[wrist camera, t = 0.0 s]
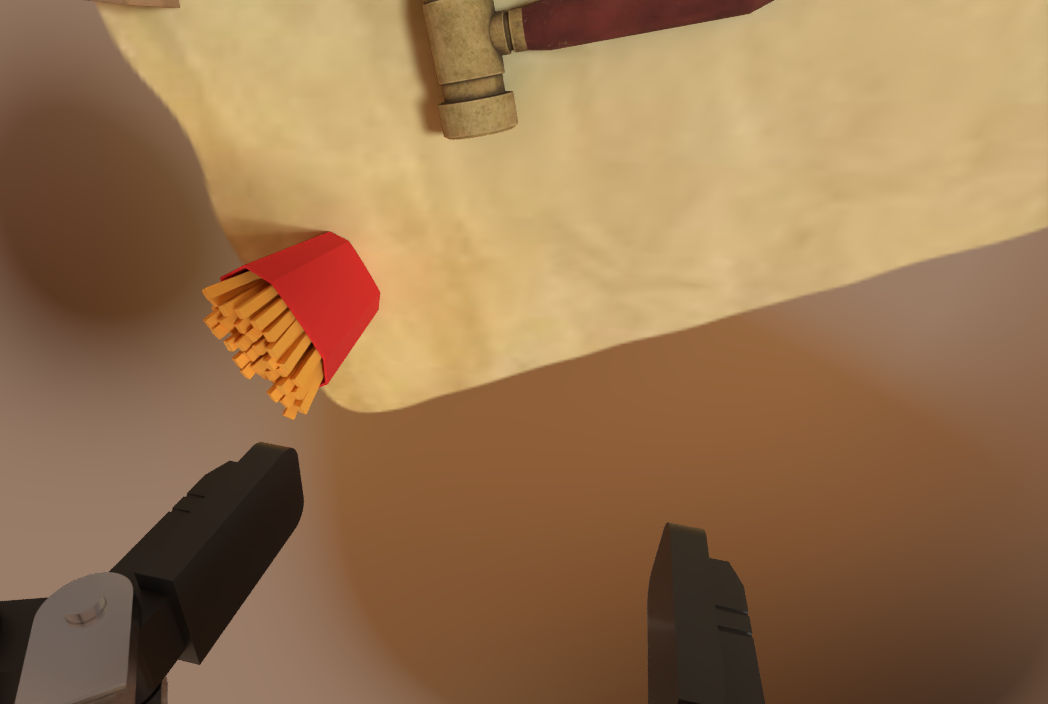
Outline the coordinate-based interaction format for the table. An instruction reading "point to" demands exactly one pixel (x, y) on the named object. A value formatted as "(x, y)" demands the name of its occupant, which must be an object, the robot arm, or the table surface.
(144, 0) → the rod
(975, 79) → the table surface
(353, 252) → the french fries
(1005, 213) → the table surface
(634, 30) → the gavel
